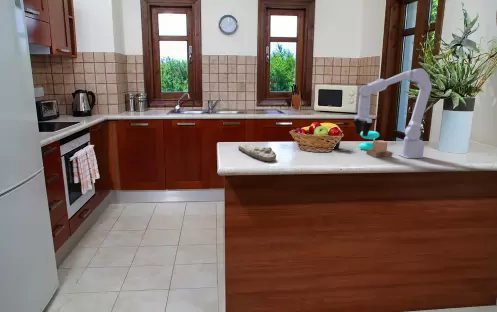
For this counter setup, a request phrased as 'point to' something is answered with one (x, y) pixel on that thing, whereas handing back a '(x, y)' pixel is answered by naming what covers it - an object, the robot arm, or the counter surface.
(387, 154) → the slab
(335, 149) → the coffee mug
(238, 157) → the counter surface
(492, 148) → the counter surface
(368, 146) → the donuts
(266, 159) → the long grey stone
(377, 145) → the cube
